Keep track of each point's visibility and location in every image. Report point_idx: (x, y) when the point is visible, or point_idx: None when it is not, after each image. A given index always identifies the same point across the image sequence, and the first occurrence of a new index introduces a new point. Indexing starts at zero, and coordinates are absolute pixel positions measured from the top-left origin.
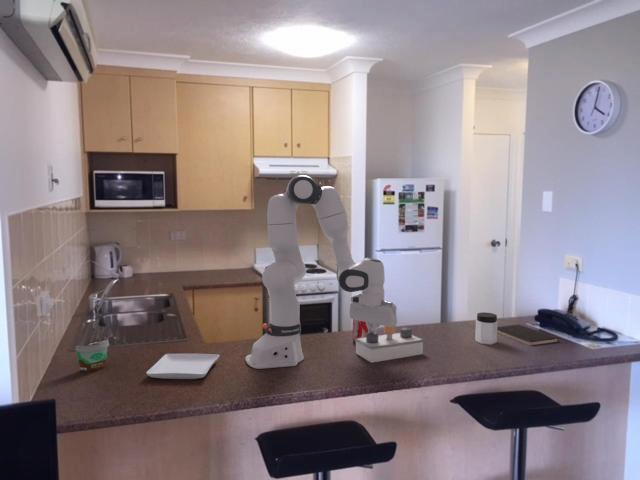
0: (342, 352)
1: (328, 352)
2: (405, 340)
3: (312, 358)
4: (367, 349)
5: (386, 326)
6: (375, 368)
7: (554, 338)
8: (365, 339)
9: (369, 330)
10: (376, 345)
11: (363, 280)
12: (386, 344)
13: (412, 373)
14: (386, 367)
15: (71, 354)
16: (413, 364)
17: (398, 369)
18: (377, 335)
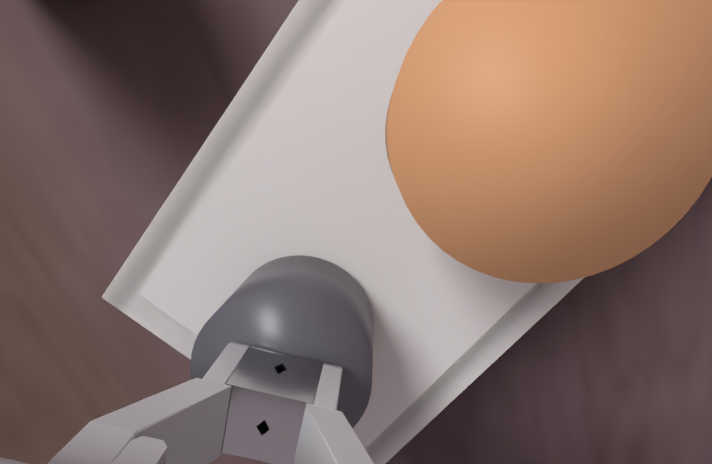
0: (94, 272)
1: (14, 314)
2: None
3: (10, 449)
4: None
5: (500, 276)
6: (430, 457)
7: None
8: (204, 277)
9: (225, 436)
10: (392, 414)
11: None
12: (484, 347)
13: (684, 449)
14: (493, 418)
15: None
16: (678, 293)
17: (580, 421)
18: (370, 391)
